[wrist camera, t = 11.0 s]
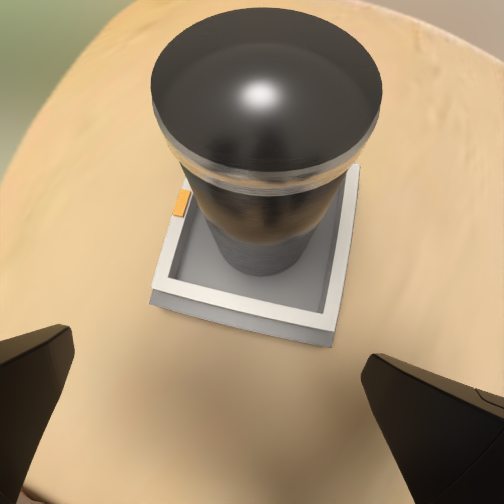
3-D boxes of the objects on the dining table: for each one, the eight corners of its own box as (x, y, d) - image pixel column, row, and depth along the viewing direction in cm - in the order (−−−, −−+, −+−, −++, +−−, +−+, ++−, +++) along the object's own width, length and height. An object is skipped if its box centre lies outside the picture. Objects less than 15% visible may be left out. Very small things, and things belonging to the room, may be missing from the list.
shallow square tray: (351, 182, 23) (368, 152, 18) (322, 346, 20) (339, 349, 16) (208, 151, 23) (199, 118, 19) (161, 307, 21) (138, 300, 16)
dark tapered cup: (328, 223, 19) (417, 69, 7) (270, 298, 18) (298, 222, 6) (254, 170, 20) (249, -10, 8) (194, 238, 19) (102, 90, 6)
